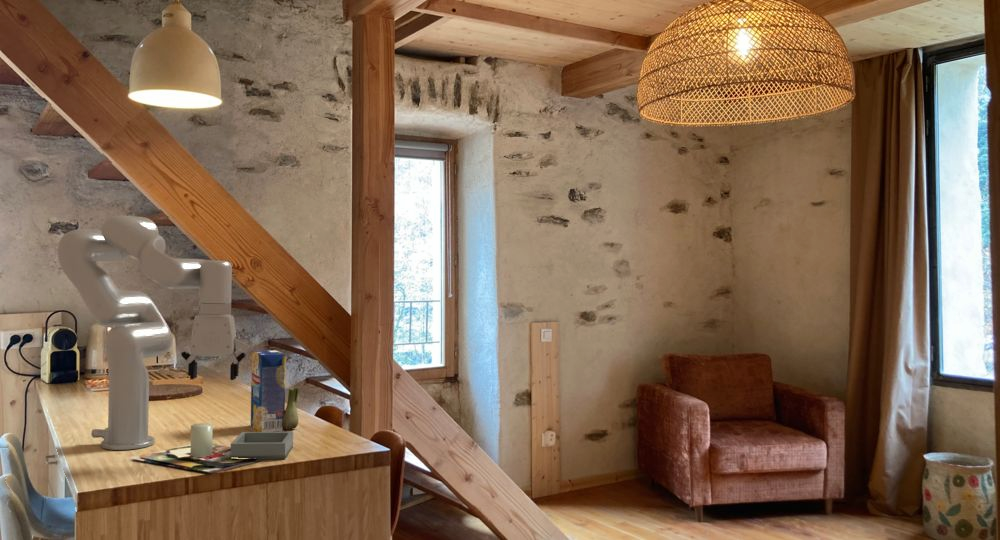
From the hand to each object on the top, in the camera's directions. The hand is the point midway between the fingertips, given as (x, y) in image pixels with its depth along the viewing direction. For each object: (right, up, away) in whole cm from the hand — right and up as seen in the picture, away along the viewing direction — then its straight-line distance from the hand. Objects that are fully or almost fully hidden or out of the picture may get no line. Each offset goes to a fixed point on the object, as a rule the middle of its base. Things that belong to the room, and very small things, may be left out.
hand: (213, 379), depth 194 cm
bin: (+11, -19, +4) cm, 23 cm away
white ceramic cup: (-2, -19, -2) cm, 19 cm away
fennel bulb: (+10, -19, +32) cm, 39 cm away
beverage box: (+3, -19, +33) cm, 39 cm away
